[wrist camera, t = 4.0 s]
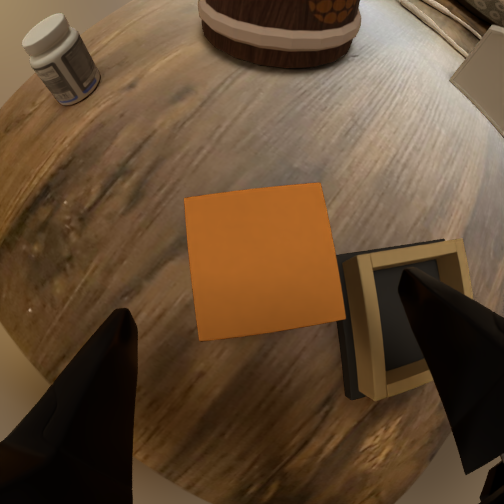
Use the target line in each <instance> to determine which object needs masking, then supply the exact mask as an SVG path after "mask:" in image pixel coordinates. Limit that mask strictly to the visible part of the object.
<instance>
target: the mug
mask: <svg viewBox="0 0 504 504" xmlns="http://www.w3.org/2000/svg"><path fill="white" fill-rule="evenodd" d="M359 2H360V0H199V1H198V10H199V15H200V18H201V19H202V27H203V32H204V36H205V37H206V38H207V39H208V40H209V41H210V42H211V43H212V44H213V45H214V47H216V48H218V49H220V50H222V51H224V52H226V53H227V54H229V55H231V56H233V57H235V58H238V59H241V60H244V61H248V62H251V63H255V64H258V65H262V66H271V67H279V68H306V67H314V66H318V65H322V64H326V63H330V62H334V61H336V60H337V59H339V58H340V57H342V56H343V55H345V54H346V53H347V52H348V50H349V48H350V45H351V43H352V40H353V38H354V37H356V35H357V33H358V31H359V28H360V26H361V15H360V12H359V9H358V7H359Z"/></svg>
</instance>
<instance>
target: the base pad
mask: <svg viewBox="0 0 504 504" xmlns="http://www.w3.org/2000/svg"><path fill="white" fill-rule="evenodd" d="M336 259H337V264H338V270H339V276H340V282H341V288H342V295H343V301H344V308H345V315H346V319H344V320H339V321H337V326H338V334H339V342H340V350H341V359H342V368H343V377H344V388H345V396H346V397H348V398H349V399H350V400H355V399H358V398H362V397H365V396H367V397H369V398H371V399H372V400H374V401H378V400H381V399H384V398H387V397H391V396H394V395H397V394H400V393H402V392H405V391H408V390H411V389H413V388H416V387H418V386H421V385H423V384H426V383H428V382H431V381H433V378H432V375H431V373H430V370H429V368H428V366H427V363H426V361H425V359H424V356H423V354H422V352H421V350H420V347H419V345H418V343H417V341H416V339H415V336H414V334H413V332H412V330H411V327H410V324H409V322H408V319H407V316H406V313H405V310H404V308H403V305H402V302H401V300H400V297H399V295H398V284H399V281H400V277H401V274H402V271H403V269H405V268H409V267H415V268H417V269H419V270H421V271H423V272H425V273H427V274H428V275H430V276H432V277H434V278H436V279H438V280H439V281H441V282H443V283H445V284H447V285H448V286H450V287H452V288H454V289H455V290H457V291H459V292H461V293H462V294H464V295H466V296H468V297H469V298H471V299H473V295H472V287H471V281H470V275H469V269H468V263H467V258H466V253H465V248H464V243H463V239H462V238H461V239H455V240H449V241H445V239H439V240H433V241H427V242H420V243H414V244H407V245H401V246H394V247H388V248H381V249H374V250H368V251H361V252H354V253H347V254H340V255H336Z"/></svg>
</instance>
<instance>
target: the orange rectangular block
mask: <svg viewBox="0 0 504 504" xmlns="http://www.w3.org/2000/svg"><path fill="white" fill-rule="evenodd" d="M184 206H185V219H186V231H187V242H188V253H189V263H190V272H191V281H192V290H193V298H194V306H195V314H196V322H197V329H198V336H199V341H201V342H202V341H211V340H220V339H228V338H236V337H244V336H251V335H258V334H265V333H272V332H278V331H284V330H290V329H296V328H302V327H308V326H313V325H319V324H324V323H329V322H334V321H339V320H344V319H346V315H345V308H344V301H343V295H342V288H341V282H340V276H339V270H338V264H337V259H336V253H335V248H334V243H333V238H332V233H331V228H330V223H329V218H328V213H327V209H326V204H325V200H324V195H323V191H322V186H321V183H307V184H296V185H285V186H275V187H266V188H256V189H248V190H239V191H231V192H223V193H216V194H208V195H201V196H194V197H187V198H184Z"/></svg>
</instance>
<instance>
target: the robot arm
mask: <svg viewBox="0 0 504 504" xmlns="http://www.w3.org/2000/svg"><path fill="white" fill-rule="evenodd" d="M398 295H399V297H400V300H401V302H402V305H403V308H404V310H405V313H406V316H407V319H408V322H409V324H410V327H411V330H412V332H413V334H414V336H415V339H416V341H417V343H418V345H419V347H420V350H421V352H422V354H423V356H424V359H425V361H426V363H427V366H428V368H429V370H430V373H431V375H432V378H433V380H434V383H435V385H436V388H437V390H438V393H439V395H440V398H441V401H442V403H443V406H444V409H445V412H446V414H447V417H448V420H449V423H450V426H451V429H452V432H453V435H454V438H455V442H456V445H457V448H458V451H459V454H460V458H461V461H462V465H463V469H464V472H465V474H466V475H467V474H469V473H471V472H473V471H475V470H476V469H478V468H480V467H482V466H483V465H485V464H487V463H488V462H490V461H492V460H493V459H495V458H497V457H498V456H500V457H501V459H502V461H500V462H499V463H498V464H497V465H495V466H494V467H493V468H491V469H490V470H489V472H488V475H487V479H486V481H485V485H484V487H483V490H482V492H481V495H480V500H481V502H480V503H479V504H504V318H503V317H501V316H500V315H498V314H496V313H495V312H492V311H491V310H490V309H488V308H486V307H485V306H483V305H481V304H480V303H478V302H476V301H475V300H473V299H471V298H469V297H468V296H466V295H464V294H462V293H461V292H459V291H457V290H455V289H454V288H452V287H450V286H448V285H447V284H445V283H443V282H441V281H439V280H438V279H436V278H434V277H432V276H430V275H428V274H427V273H425V272H423V271H421V270H419V269H417V268H415V267H409V268H405V269H403V271H402V274H401V277H400V281H399V284H398ZM137 375H138V329H137V325H136V323H135V321H134V319H133V317H132V315H131V313H130V311H129V309H127V308H119V309H115V310H114V311H113V312H112V313H111V315H110V316H109V317H108V318H107V319H106V320H105V321H104V322H103V324H102V325H101V326H100V327H99V328H98V329H97V331H96V332H95V333H94V334H93V335H92V336H91V338H90V339H89V340H88V341H87V342H86V343H85V345H84V346H83V347H82V348H81V349H80V351H79V352H78V353H77V354H76V355H75V357H74V358H73V359H72V360H71V361H70V363H69V364H68V365H67V366H66V368H65V369H64V370H63V371H62V372H61V374H60V375H59V376H58V377H57V379H56V380H55V381H54V383H53V384H52V385H51V386H50V388H49V389H48V390H47V392H46V393H45V394H44V395H43V396H42V398H41V399H40V400H39V401H38V403H37V404H36V405H35V406H34V407H33V408H32V409H31V411H30V412H29V413H28V414H27V415H26V416H25V417H24V418H23V420H22V421H21V422H20V423H19V424H18V425H17V426H16V428H15V429H14V430H13V431H12V432H11V433H10V434H9V435H8V436H7V437H6V438H5V439H4V440H3V441H1V442H0V504H133V495H132V453H133V428H134V412H135V398H136V387H137Z"/></svg>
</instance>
